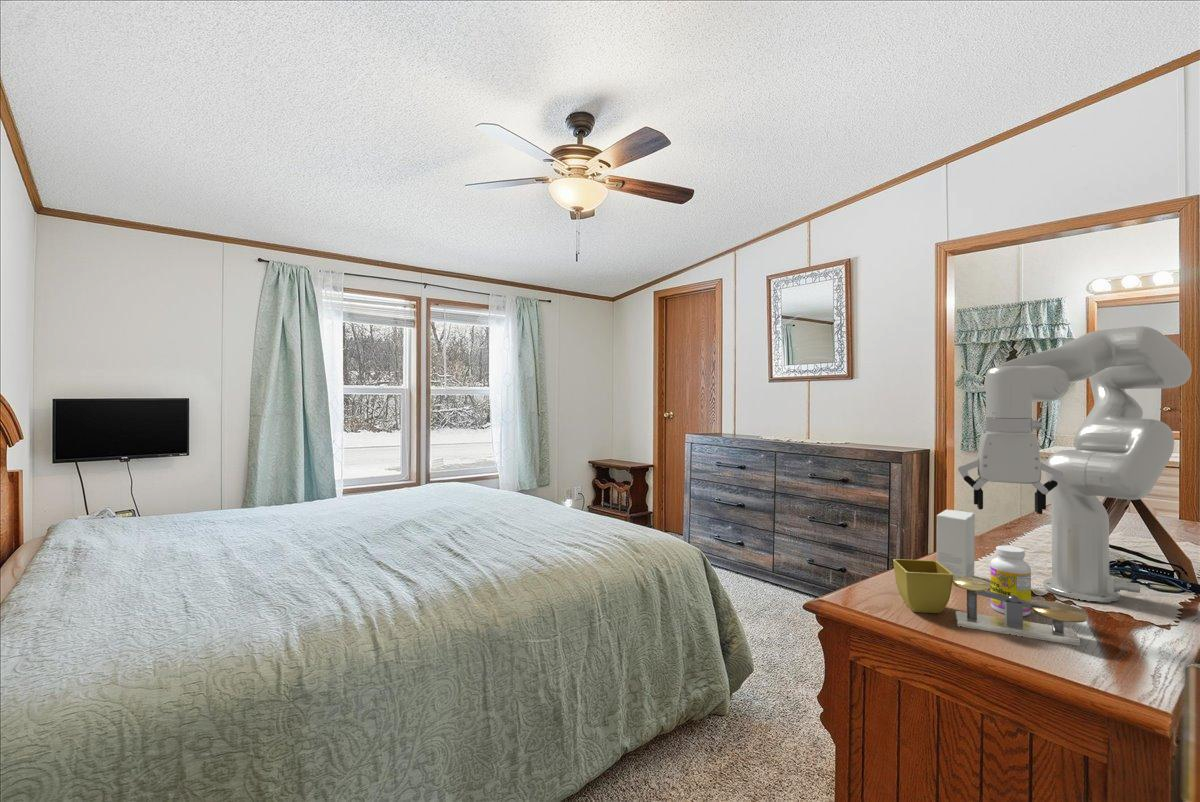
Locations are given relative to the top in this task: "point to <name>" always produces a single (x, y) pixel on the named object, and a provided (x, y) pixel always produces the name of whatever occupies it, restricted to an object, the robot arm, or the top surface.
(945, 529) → the skincare box
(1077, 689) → the top surface
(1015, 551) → the supplement bottle
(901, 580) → the flower pot
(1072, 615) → the balance
